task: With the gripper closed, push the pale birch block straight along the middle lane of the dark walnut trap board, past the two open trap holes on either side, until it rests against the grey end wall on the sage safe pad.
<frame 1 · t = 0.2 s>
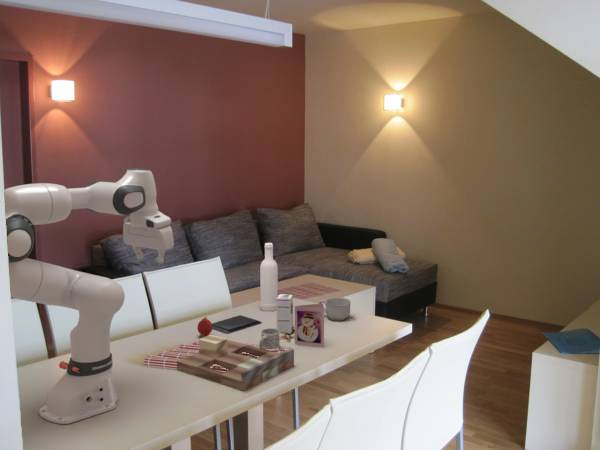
hand: (150, 260, 203), 39 cm above the table, tool pointing down, fingers open, 8 cm apart
mug: (267, 350, 233), on the table
trap board: (235, 367, 216), on the table
birch block: (213, 352, 222), point 3 cm above the table, touching trap board
teacup: (334, 318, 271), on the table
syrup box: (285, 331, 255), on the table
onion: (205, 337, 248), on the table
bottle: (269, 309, 285), on the table
greeting card: (311, 343, 240), on the table
wallet: (234, 326, 263), on the table
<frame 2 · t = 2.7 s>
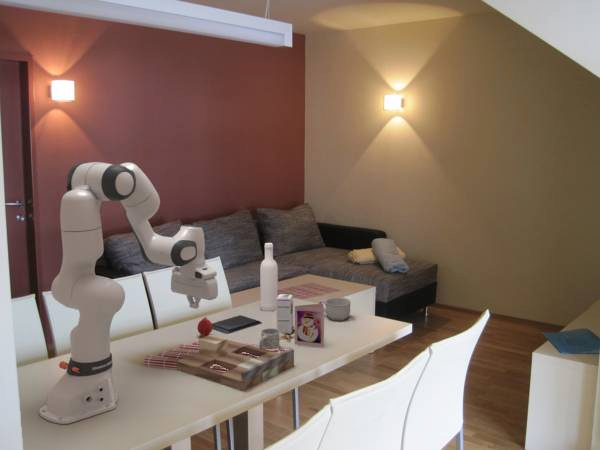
hand: (194, 307, 225), 18 cm above the table, tool pointing down, fingers closed
nothing on the table moved.
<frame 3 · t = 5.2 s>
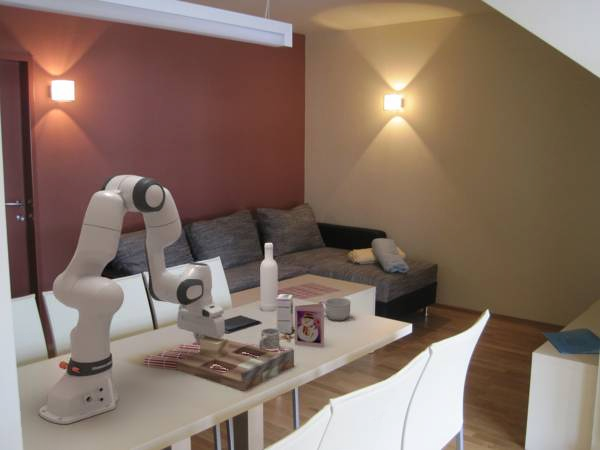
hand: (200, 344, 225), 5 cm above the table, tool pointing down, fingers closed
birch block: (214, 353, 221), point 3 cm above the table, touching gripper, trap board
everything else where it was.
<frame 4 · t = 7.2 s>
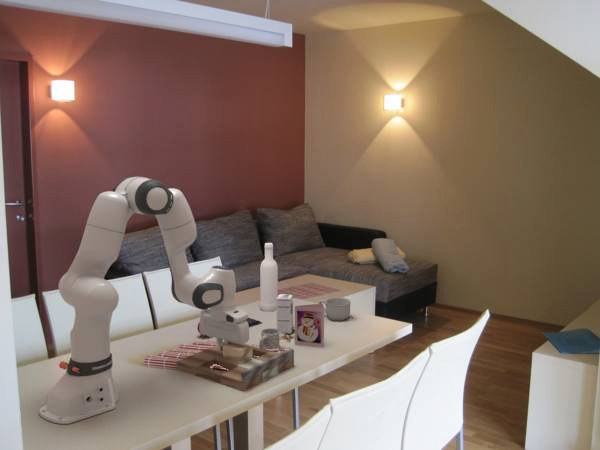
hand: (224, 350, 219), 5 cm above the table, tool pointing down, fingers closed
birch block: (237, 359, 215), point 3 cm above the table, touching gripper
everything else where it was.
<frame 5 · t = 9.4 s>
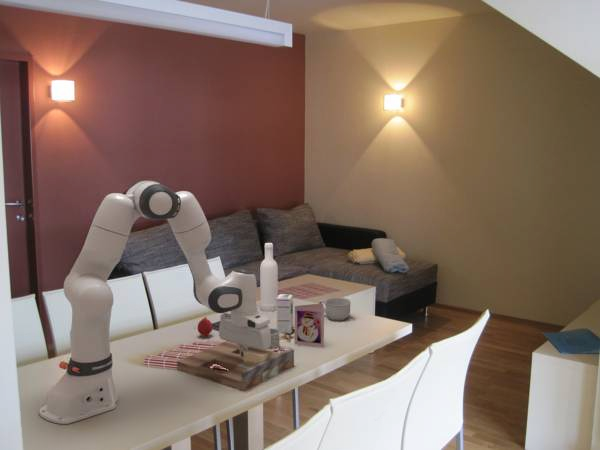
hand: (244, 356, 213), 5 cm above the table, tool pointing down, fingers closed
birch block: (258, 365, 210), point 3 cm above the table, touching gripper, trap board
everything else where it was.
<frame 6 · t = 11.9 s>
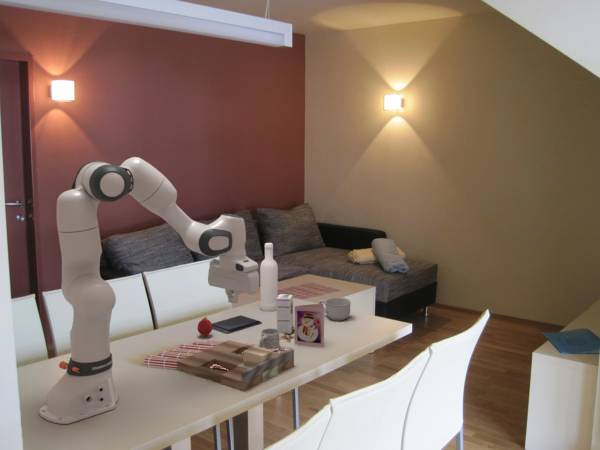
hand: (233, 302, 212), 23 cm above the table, tool pointing down, fingers closed
birch block: (258, 365, 210), point 3 cm above the table, touching trap board
everything else where it was.
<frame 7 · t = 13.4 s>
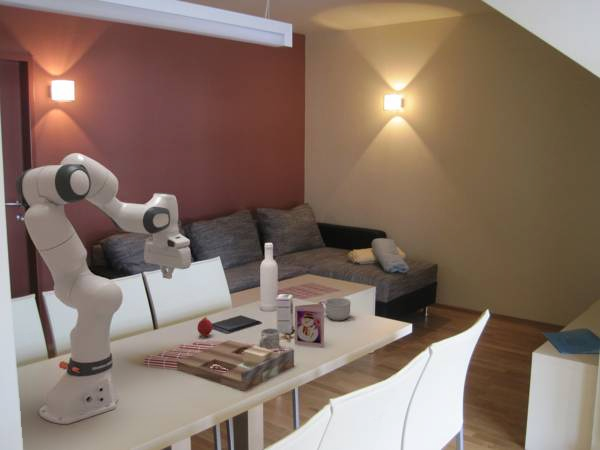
hand: (167, 278, 220), 29 cm above the table, tool pointing down, fingers closed
nothing on the table moved.
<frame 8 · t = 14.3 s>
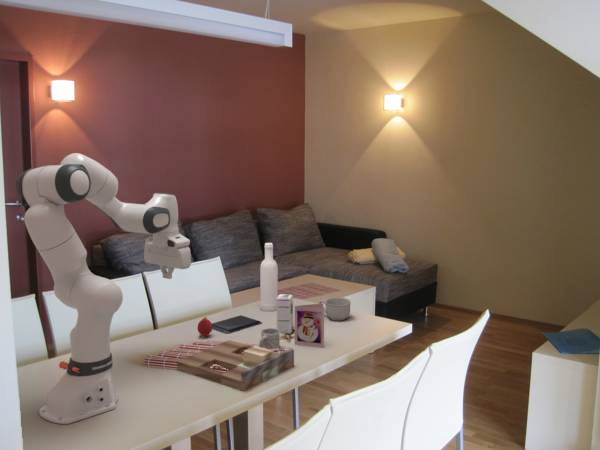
hand: (167, 278, 220), 29 cm above the table, tool pointing down, fingers closed
nothing on the table moved.
at the end: birch block 0.4 cm from the target spot on the trap board, point 3.0 cm above the trap board's base; birch block tilted 0° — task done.
